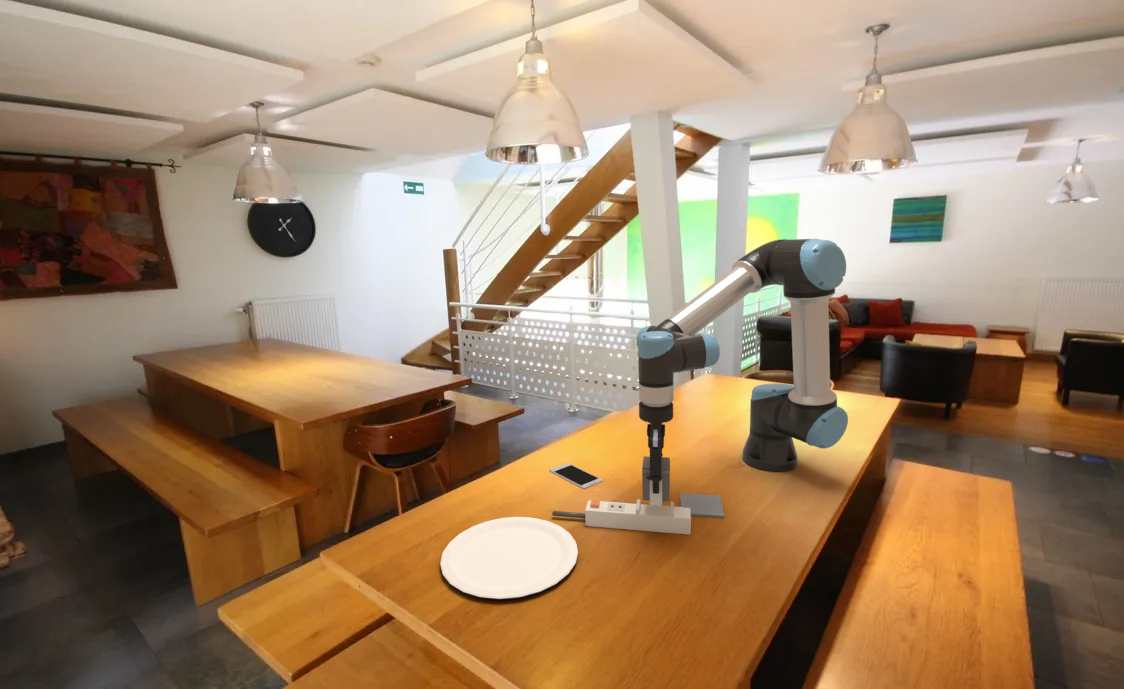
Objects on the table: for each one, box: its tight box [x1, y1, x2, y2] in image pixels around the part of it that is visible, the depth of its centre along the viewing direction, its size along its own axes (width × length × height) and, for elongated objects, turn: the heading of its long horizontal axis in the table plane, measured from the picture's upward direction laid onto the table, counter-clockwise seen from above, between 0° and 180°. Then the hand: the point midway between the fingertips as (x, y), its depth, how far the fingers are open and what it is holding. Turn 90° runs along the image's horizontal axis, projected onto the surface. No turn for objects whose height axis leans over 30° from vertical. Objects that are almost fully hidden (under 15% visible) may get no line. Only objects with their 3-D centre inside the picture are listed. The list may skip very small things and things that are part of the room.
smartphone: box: [549, 462, 603, 490], centre depth 150 cm, size 7×16×1 cm, turn 39°
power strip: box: [551, 499, 692, 536], centre depth 124 cm, size 33×5×5 cm, turn 78°
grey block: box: [641, 455, 671, 503], centre depth 121 cm, size 6×6×8 cm
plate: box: [439, 516, 579, 601], centre depth 113 cm, size 29×29×2 cm
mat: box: [679, 492, 725, 519], centre depth 131 cm, size 10×10×1 cm
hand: (656, 496), depth 122 cm, fingers closed on grey block, 6 cm apart
